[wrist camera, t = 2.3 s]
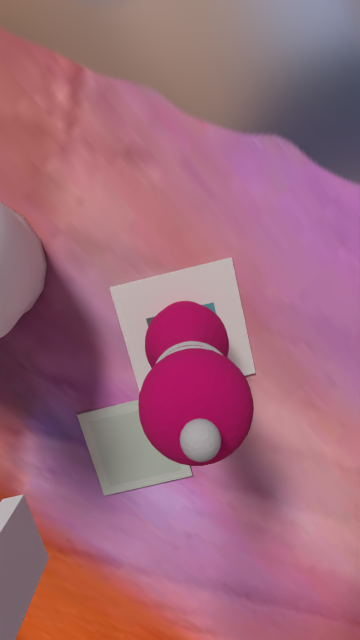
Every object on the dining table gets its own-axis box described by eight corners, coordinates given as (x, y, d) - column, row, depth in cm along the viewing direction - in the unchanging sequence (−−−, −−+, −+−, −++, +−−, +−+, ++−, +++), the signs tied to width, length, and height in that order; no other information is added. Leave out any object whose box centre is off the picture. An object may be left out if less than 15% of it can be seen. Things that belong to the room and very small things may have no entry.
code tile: (142, 398, 35) (142, 399, 35) (110, 287, 32) (109, 287, 32) (255, 372, 34) (255, 373, 34) (231, 257, 32) (231, 257, 32)
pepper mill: (235, 340, 33) (322, 471, 14) (175, 379, 34) (178, 555, 15) (195, 280, 32) (229, 331, 13) (133, 322, 33) (76, 431, 13)
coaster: (104, 494, 37) (104, 495, 37) (77, 414, 35) (76, 415, 35) (192, 474, 37) (192, 475, 37) (170, 392, 35) (170, 393, 34)
